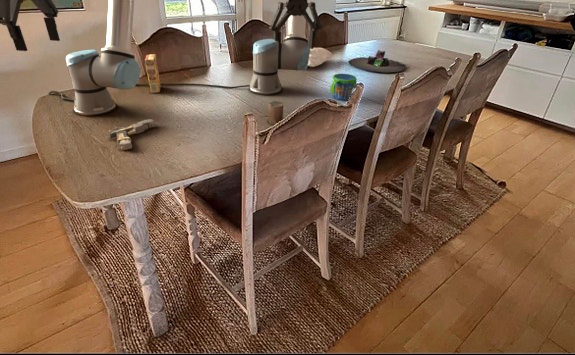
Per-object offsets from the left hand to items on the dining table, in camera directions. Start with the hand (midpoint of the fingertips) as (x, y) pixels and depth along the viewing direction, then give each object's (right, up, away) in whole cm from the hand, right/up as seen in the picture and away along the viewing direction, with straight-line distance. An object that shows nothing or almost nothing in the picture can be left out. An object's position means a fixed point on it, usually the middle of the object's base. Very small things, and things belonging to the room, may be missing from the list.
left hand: (39, 45), depth 106 cm
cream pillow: (+84, +30, +113) cm, 144 cm away
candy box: (+10, +3, +67) cm, 67 cm away
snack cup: (+98, -1, +66) cm, 119 cm away
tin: (+68, -16, +41) cm, 80 cm away
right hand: (+75, +11, +34) cm, 83 cm away
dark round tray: (+127, +30, +117) cm, 175 cm away
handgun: (+18, -24, +25) cm, 39 cm away
